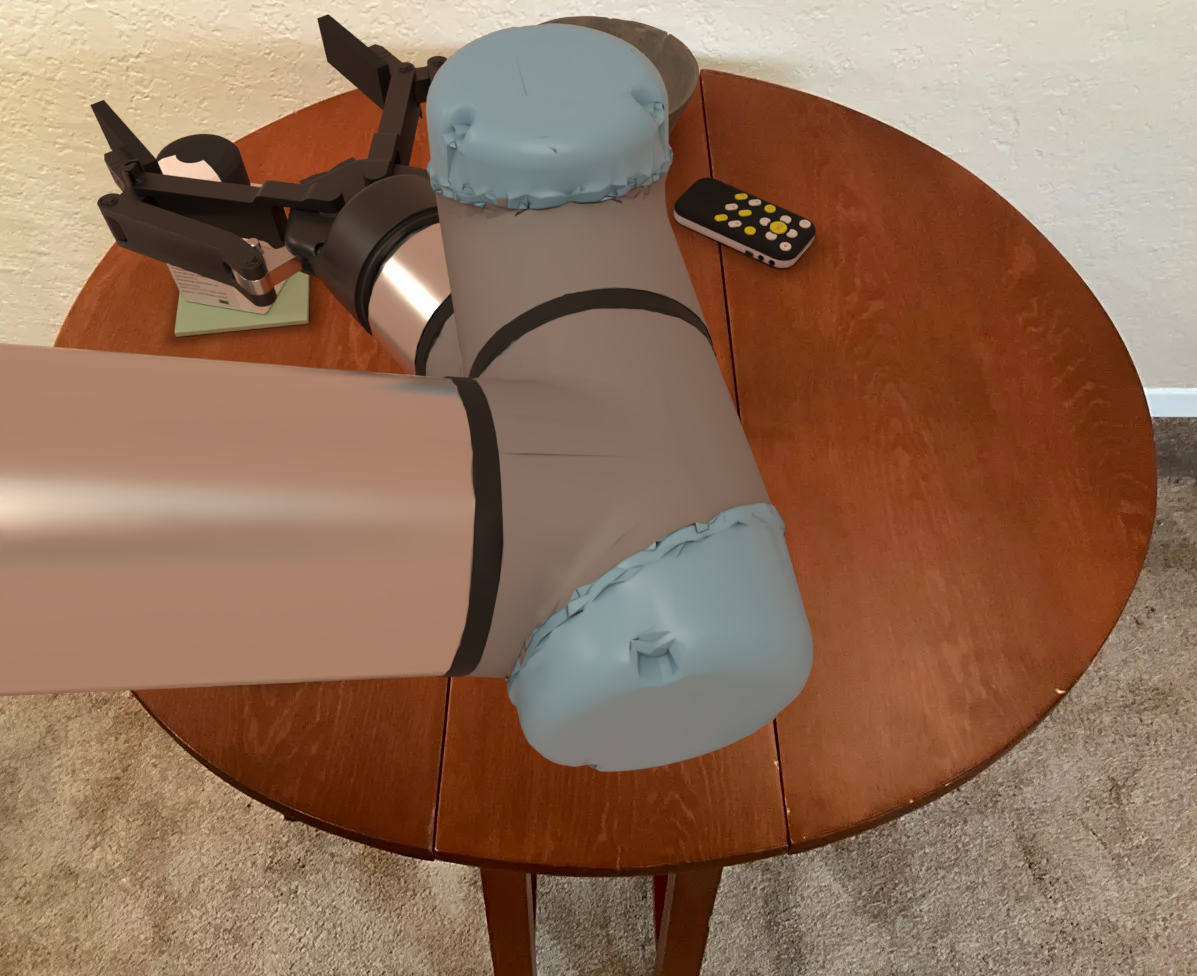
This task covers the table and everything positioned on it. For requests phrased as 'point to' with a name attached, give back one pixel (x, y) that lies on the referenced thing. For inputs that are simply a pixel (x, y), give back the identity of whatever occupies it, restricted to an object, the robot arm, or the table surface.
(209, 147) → the container
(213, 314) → the mat
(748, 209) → the remote control
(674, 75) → the bowl
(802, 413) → the table surface
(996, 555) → the table surface
